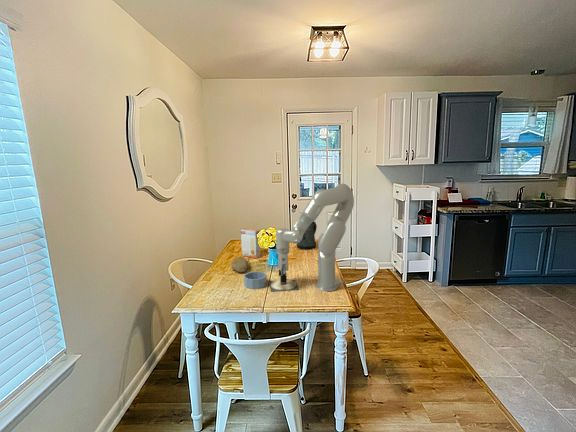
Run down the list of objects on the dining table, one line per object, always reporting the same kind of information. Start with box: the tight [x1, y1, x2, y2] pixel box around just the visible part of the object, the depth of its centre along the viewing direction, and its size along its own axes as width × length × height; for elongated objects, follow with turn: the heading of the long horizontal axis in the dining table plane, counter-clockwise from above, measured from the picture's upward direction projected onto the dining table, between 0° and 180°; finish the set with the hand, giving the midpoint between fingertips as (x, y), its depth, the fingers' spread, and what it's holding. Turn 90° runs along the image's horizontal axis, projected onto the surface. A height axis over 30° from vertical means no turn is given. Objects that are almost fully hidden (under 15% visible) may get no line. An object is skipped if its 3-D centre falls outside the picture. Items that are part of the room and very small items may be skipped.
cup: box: [243, 271, 268, 290], centre depth 183 cm, size 13×13×6 cm
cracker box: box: [240, 228, 261, 259], centre depth 237 cm, size 14×6×21 cm, turn 58°
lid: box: [271, 275, 297, 292], centre depth 181 cm, size 15×15×6 cm
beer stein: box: [296, 221, 318, 251], centre depth 261 cm, size 16×19×25 cm
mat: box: [268, 279, 300, 293], centre depth 181 cm, size 16×16×1 cm
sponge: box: [230, 256, 249, 273], centre depth 211 cm, size 13×8×20 cm
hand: (282, 278), depth 181 cm, fingers open, 9 cm apart
